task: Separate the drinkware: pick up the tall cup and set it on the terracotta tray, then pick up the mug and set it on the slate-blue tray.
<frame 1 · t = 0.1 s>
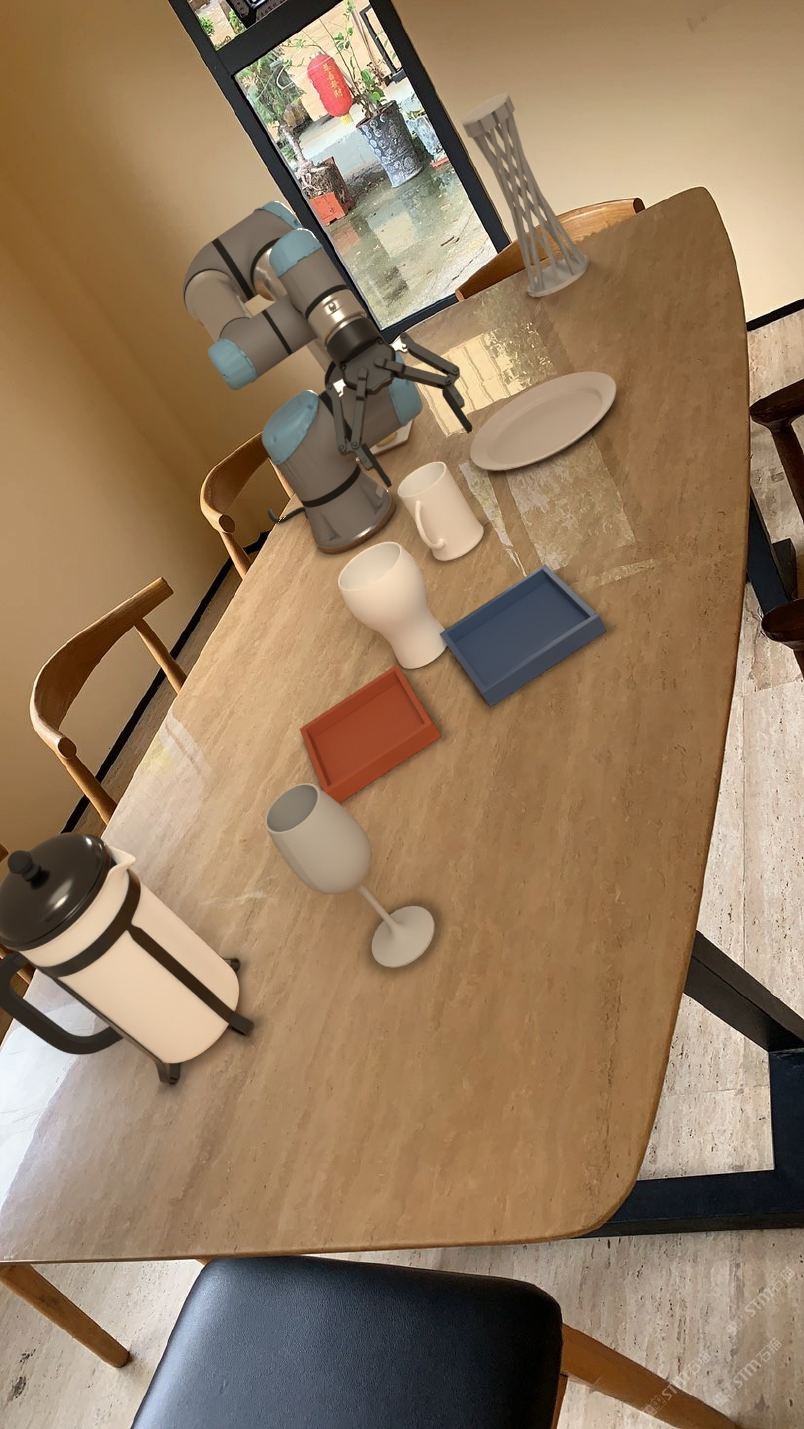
hand: (429, 457, 146), 15 cm above the table, tool tilted 35°, fingers open, 13 cm apart
plate: (546, 430, 169), on the table
dessert: (387, 440, 199), on the table
cup tray: (371, 739, 133), on the table
mug tray: (523, 639, 132), on the table
wineglass: (404, 937, 106), on the table
grey lattice tower: (559, 278, 214), on the table
mug: (455, 550, 157), on the table
cup: (424, 650, 142), on the table
coffee press: (196, 1032, 112), on the table
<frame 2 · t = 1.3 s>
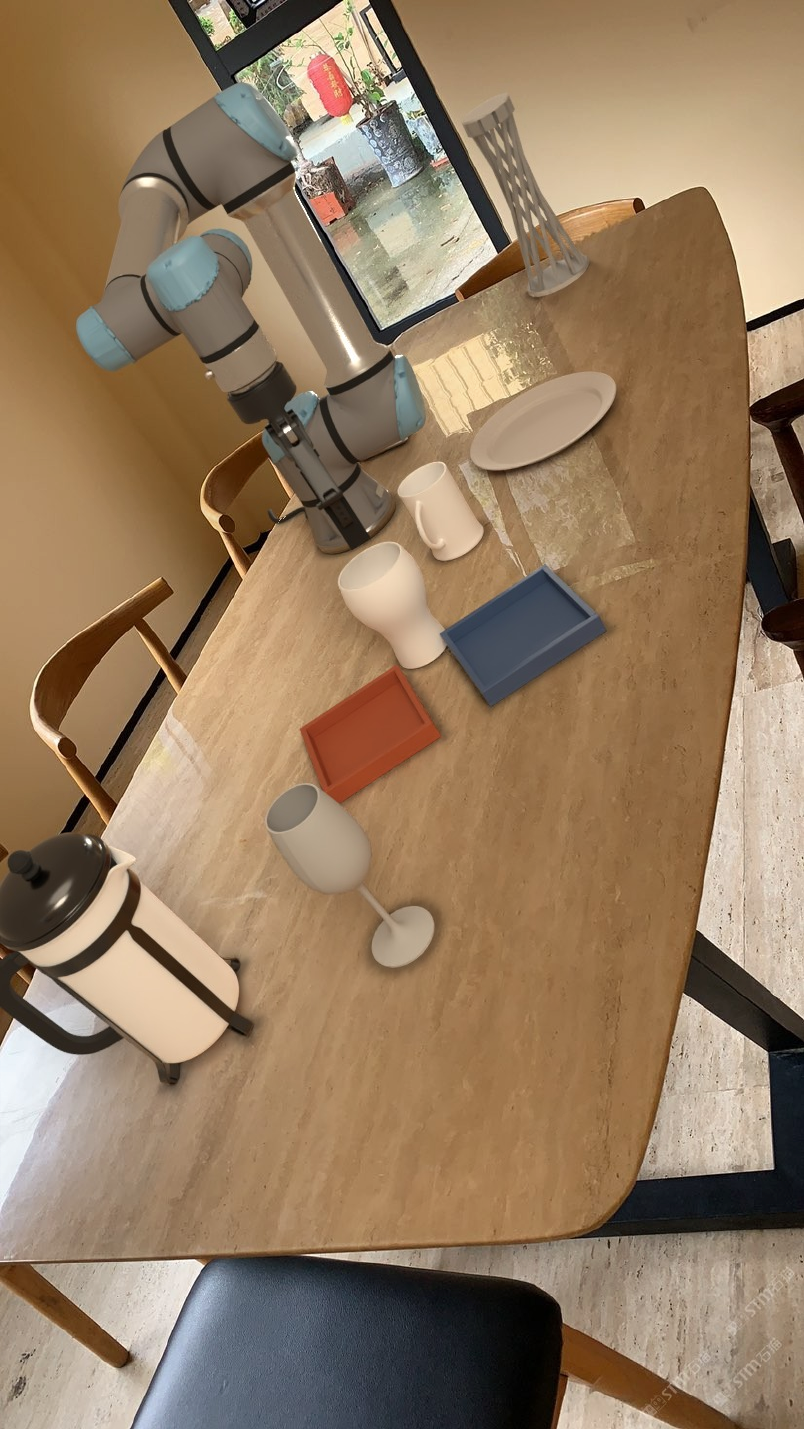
hand: (347, 524, 130), 21 cm above the table, tool pointing down, fingers open, 13 cm apart
nothing on the table moved.
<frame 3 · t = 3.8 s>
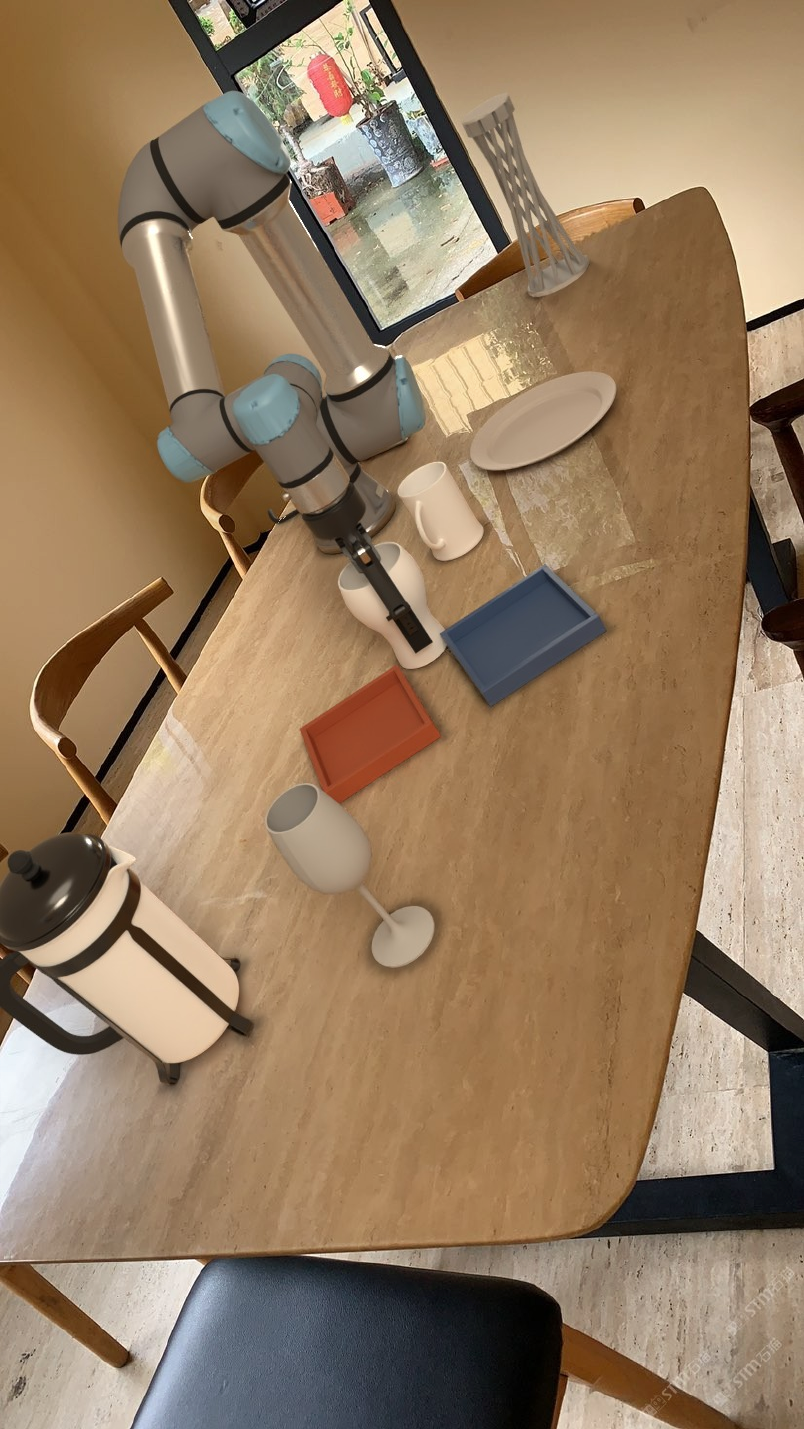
hand: (411, 628, 139), 4 cm above the table, tool pointing down, fingers closed on cup, 11 cm apart
cup: (424, 650, 142), on the table, touching gripper
everything else where it was.
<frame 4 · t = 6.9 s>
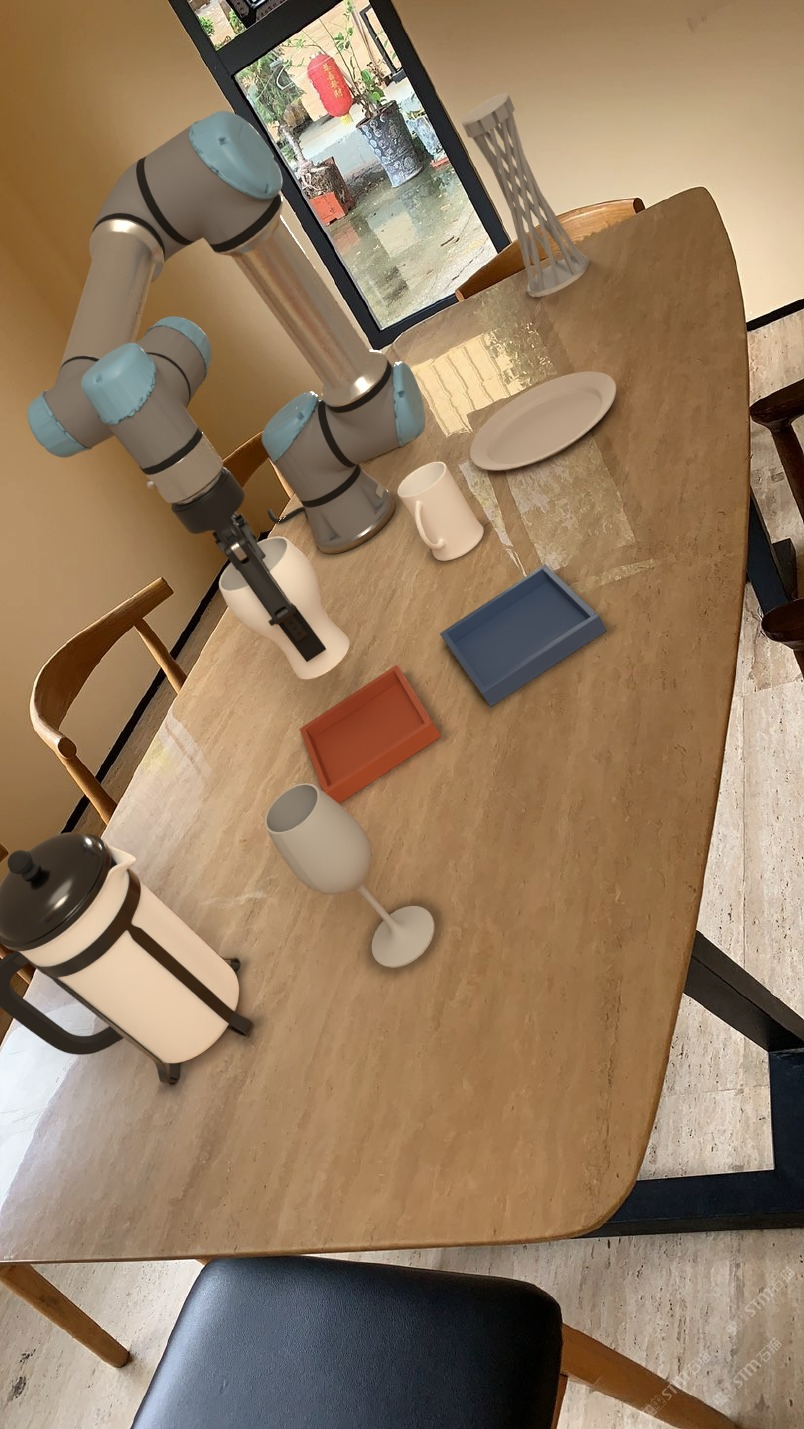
hand: (306, 633, 124), 17 cm above the table, tool pointing down, fingers closed on cup, 11 cm apart
cup: (323, 658, 126), point 13 cm above the table, touching gripper
everything else where it was.
when the fingers open (4 cm above the table, at t = 10.4 s): cup stays where it is, resting on cup tray.
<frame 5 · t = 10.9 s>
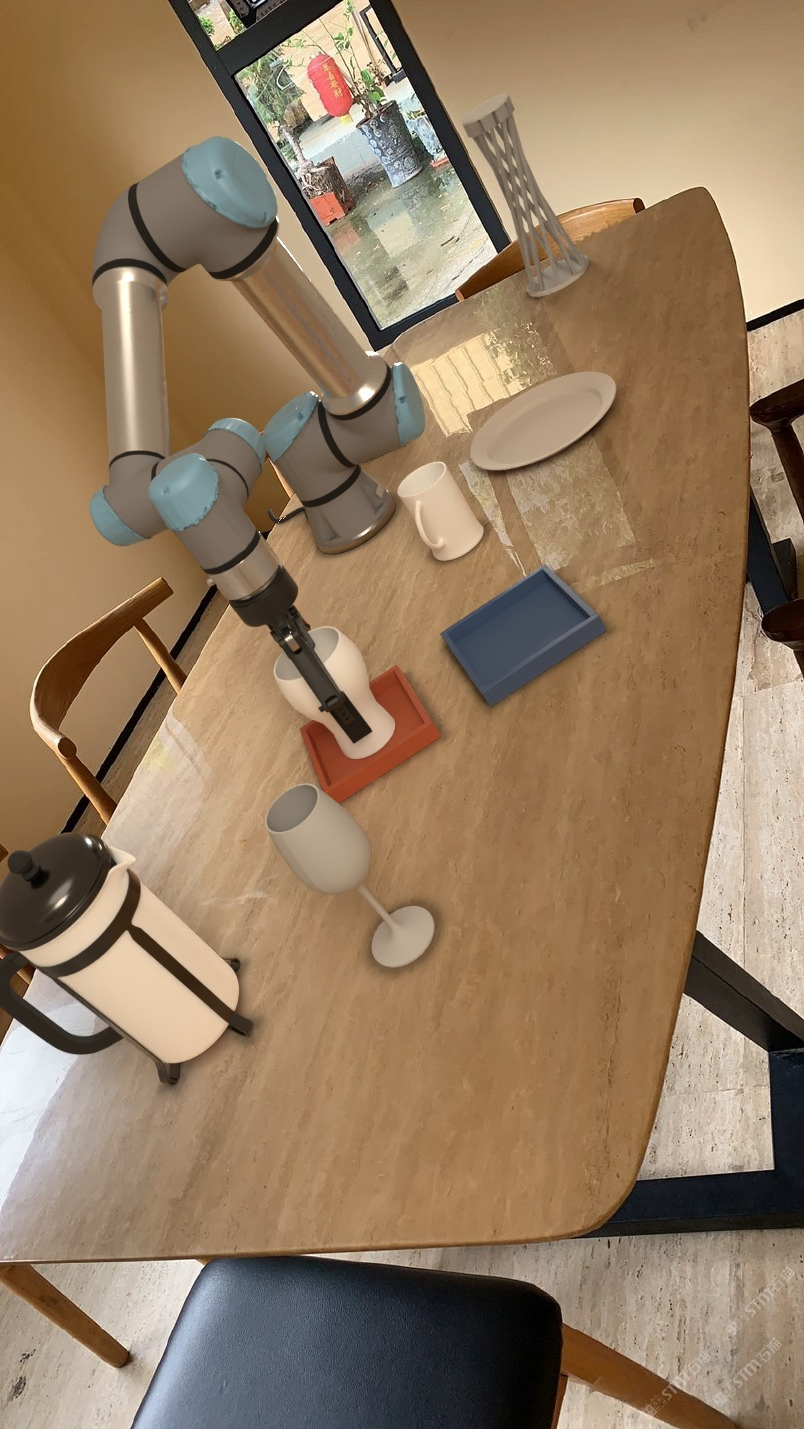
hand: (349, 708, 130), 6 cm above the table, tool pointing down, fingers open, 13 cm apart
cup: (369, 737, 133), resting on cup tray
everything else where it was.
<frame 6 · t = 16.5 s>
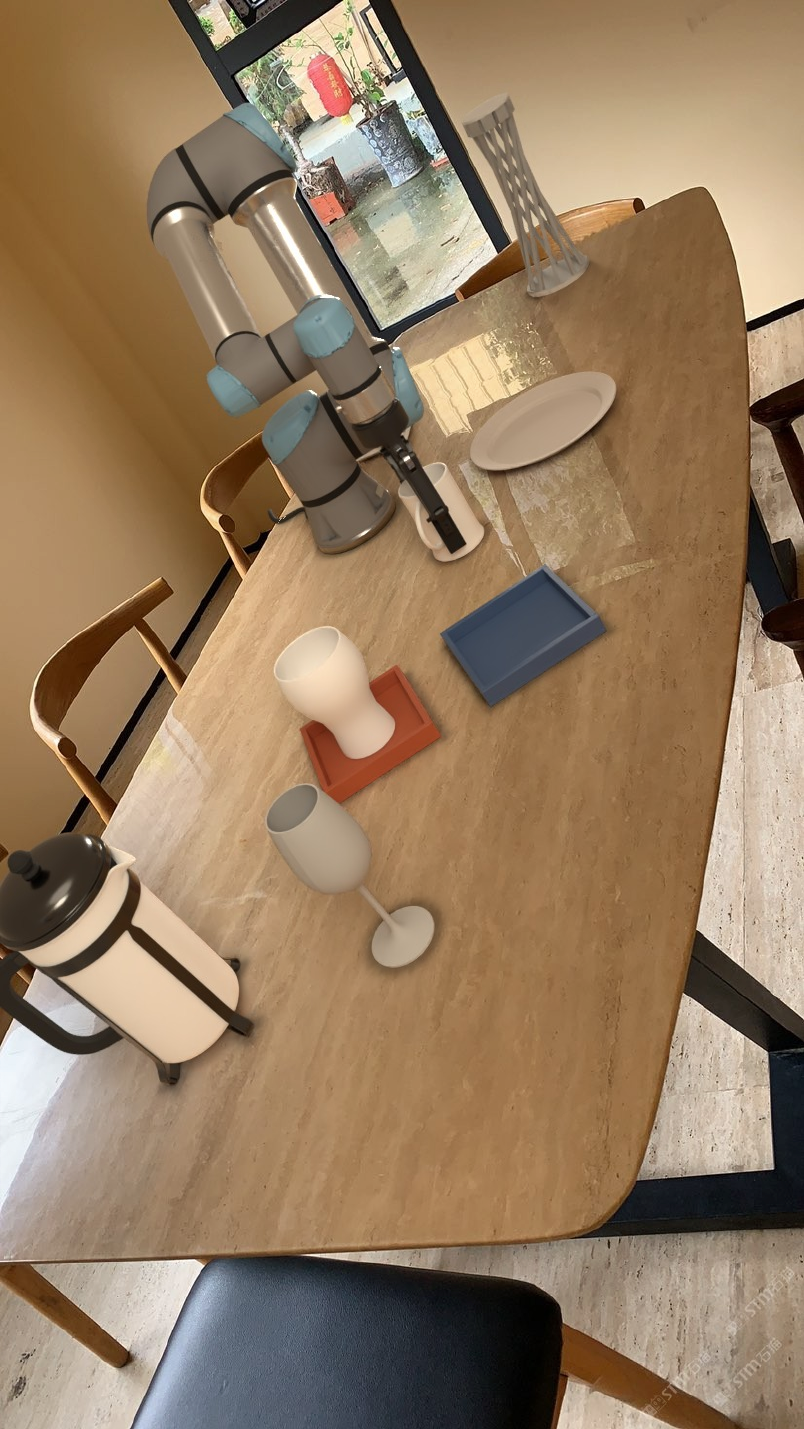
hand: (447, 536, 155), 2 cm above the table, tool pointing down, fingers closed on mug, 9 cm apart
mug: (456, 551, 156), on the table, touching gripper
everything else where it was.
when the fingers open (3 cm above the table, at t = 24.2 s): mug stays where it is, resting on mug tray.
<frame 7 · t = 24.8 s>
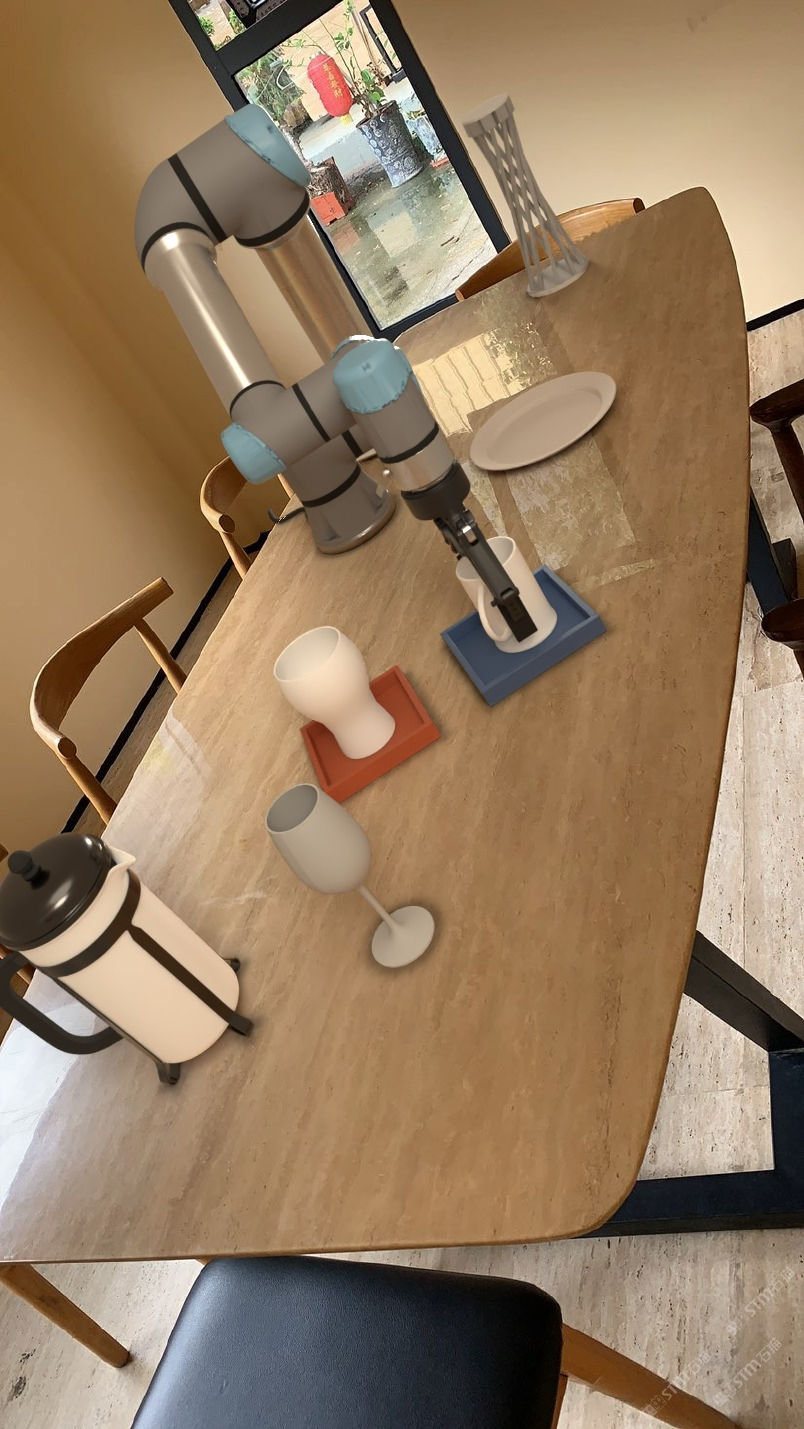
hand: (507, 612, 129), 5 cm above the table, tool pointing down, fingers open, 13 cm apart
mug: (523, 639, 131), resting on mug tray
everything else where it was.
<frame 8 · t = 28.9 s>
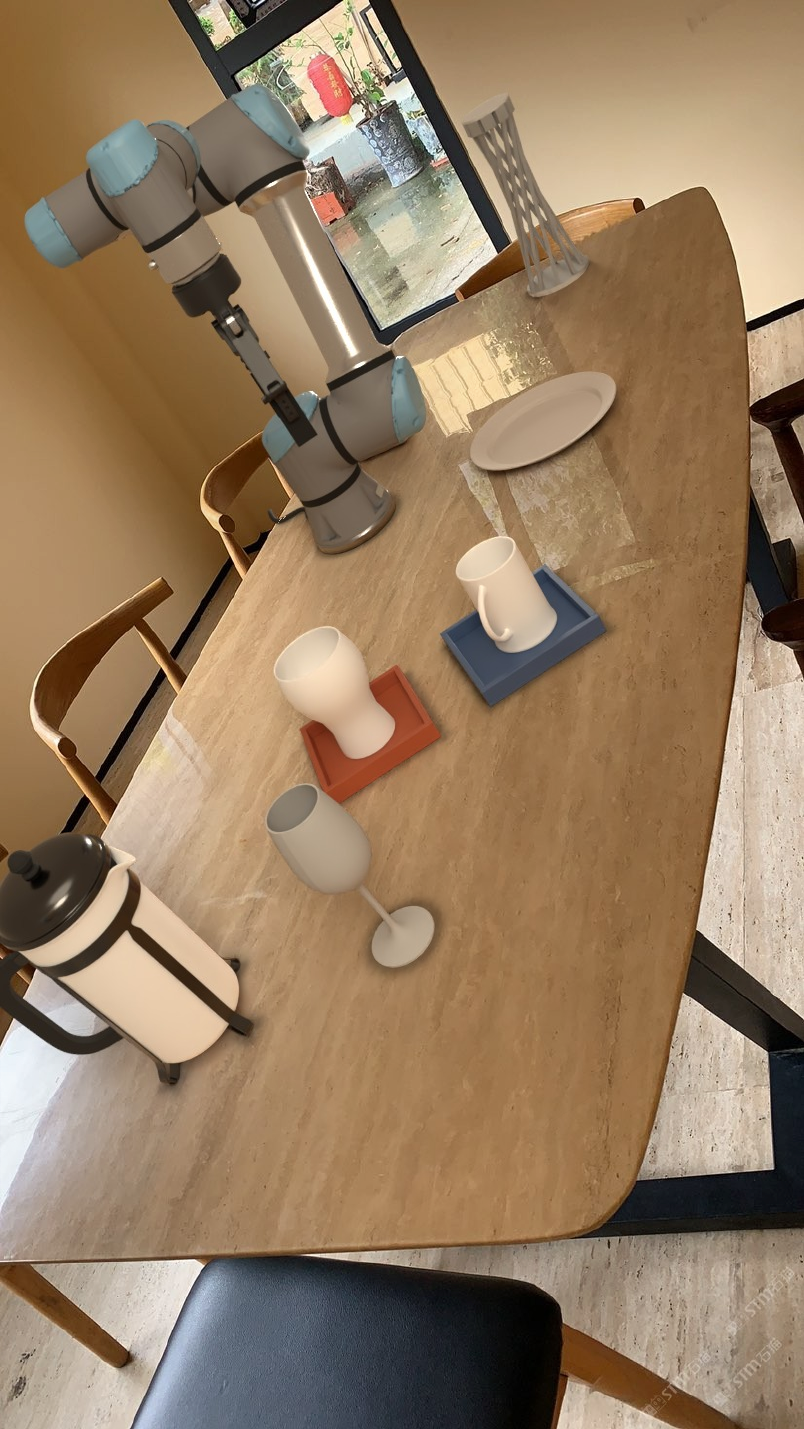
hand: (297, 425, 130), 33 cm above the table, tool pointing down, fingers open, 13 cm apart
nothing on the table moved.
at the end: cup inside the target area in the cup tray (0.1 cm from its centre), point 0.3 cm above the cup tray's base; mug inside the target area in the mug tray (0.6 cm from its centre), point 0.3 cm above the mug tray's base; cup tilted 0° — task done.
